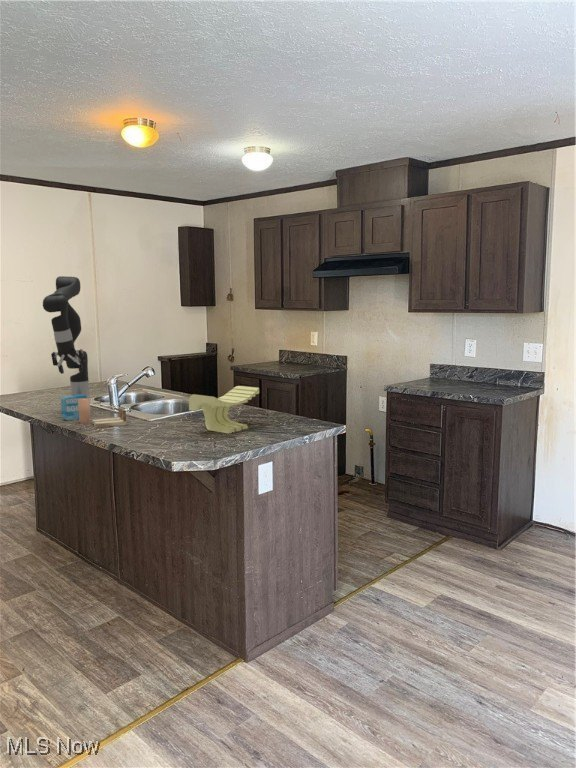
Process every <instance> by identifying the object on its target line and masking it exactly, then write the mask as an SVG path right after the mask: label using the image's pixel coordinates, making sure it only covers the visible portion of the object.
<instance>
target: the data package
mask: <svg viewBox="0 0 576 768" xmlns="http://www.w3.org/2000/svg"><path fill="white" fill-rule="evenodd" d="M80 398H87V396H85V395H82V394H80V395H72V396H71V395H66V396H62V397H61V398H60V408H61V418H62V420H64V421H67V422H70V421H69V420H71V421H76V419H77V420H79V408H78V399H80Z"/></svg>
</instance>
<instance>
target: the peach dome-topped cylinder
mask: <svg viewBox="0 0 576 768" xmlns="http://www.w3.org/2000/svg"><path fill="white" fill-rule="evenodd" d="M78 408H79V419H78V421H79V425H87V424H86V423H88V424H91V423H90V422H91V420H92V419H91V412H90V410H91V404H90V405H89V398H80V399H78Z"/></svg>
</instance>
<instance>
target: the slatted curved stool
mask: <svg viewBox="0 0 576 768" xmlns="http://www.w3.org/2000/svg"><path fill="white" fill-rule="evenodd" d="M259 394H260V387H255V386H246V385H236V386H235V387H233V388H232V389H230V390H229V391H228V392H226V393H225V394H224V395H222V396H220V397H215V396H211V395H210V396H209V395H204V394H194V393H193V394H191V395H190V396H189V398H188V411H191V412H197V411H199V410H202V413H203V415H204V422H205V423H204V424H205V427H206V429H207V430H208V431H212V432H218V433H223V434H224V433H225V434H233V433H236V432H239V431H242V430H247V429H249V427H248V424H246V423H240V422H236V421H234V420H232V419H231V418H229V416H228V414H229V410H230V408H231V407H232V406H238V405H241V404H246V403H249V401H251V400H252V398H255V397H256V395H259ZM232 432H233V433H232Z"/></svg>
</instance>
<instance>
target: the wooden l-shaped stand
mask: <svg viewBox="0 0 576 768" xmlns="http://www.w3.org/2000/svg"><path fill="white" fill-rule="evenodd" d="M91 420H92V425H93V424H94V425H93V427H95V429H101V428H100V427H104V428H110V427H109V426H113V427H120V426H121V427H122V426H127V412H126V410H125V409H124V408H123V406H118V416H114V417H105V418H104V417H103V418H96V419H91Z"/></svg>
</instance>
